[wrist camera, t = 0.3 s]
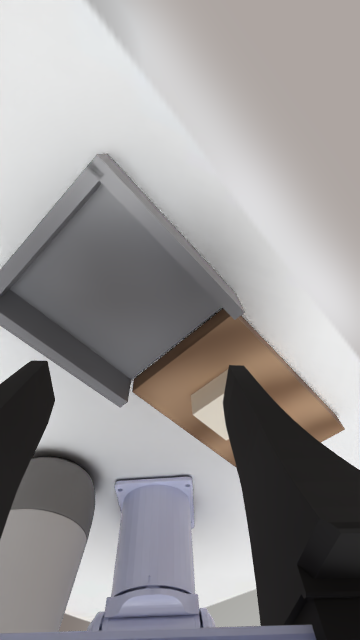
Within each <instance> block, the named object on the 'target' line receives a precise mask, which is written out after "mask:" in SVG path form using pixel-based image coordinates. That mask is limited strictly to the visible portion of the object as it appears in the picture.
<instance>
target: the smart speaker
mask: <svg viewBox="0 0 360 640" xmlns="http://www.w3.org/2000/svg"><path fill="white" fill-rule="evenodd" d="M94 509H95V490H94V485H93V482H92V479H91V477H90V476H89V474H88V473H87V472H86V471H85V470H84V469H83V468H82V467H80V466H79V465H77V464H75V463H74V462H71V461H69V460H66V459H63V458H58V457H38V458H33V459H31V461H30V463H29V465H28V467H27V469H26V472H25V474H24V476H23V478H22V480H21V483H20V485H19V488H18V490H17V493H16V495H15V498H14V501H13V504H12V507H11V510H10V512H9V515H8V518H7V521H6V524H5V527H4V530H3V533H2V536H1V539H0V633H33V632H59V628H60V625H61V622H62V619H63V615H64V613H65V610H66V606H67V603H68V600H69V597H70V594H71V591H72V587H73V584H74V581H75V578H76V575H77V572H78V568H79V565H80V562H81V559H82V556H83V553H84V550H85V546H86V543H87V539H88V536H89V532H90V528H91V524H92V520H93V515H94Z"/></svg>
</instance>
